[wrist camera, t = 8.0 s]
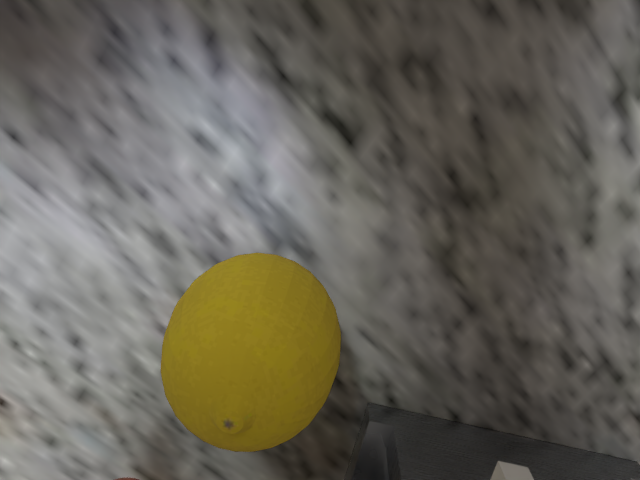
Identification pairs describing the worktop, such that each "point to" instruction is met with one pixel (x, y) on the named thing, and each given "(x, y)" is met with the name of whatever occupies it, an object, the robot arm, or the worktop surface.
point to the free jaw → (127, 479)
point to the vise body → (465, 452)
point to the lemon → (251, 352)
